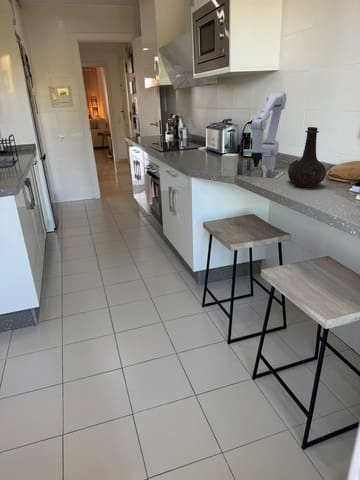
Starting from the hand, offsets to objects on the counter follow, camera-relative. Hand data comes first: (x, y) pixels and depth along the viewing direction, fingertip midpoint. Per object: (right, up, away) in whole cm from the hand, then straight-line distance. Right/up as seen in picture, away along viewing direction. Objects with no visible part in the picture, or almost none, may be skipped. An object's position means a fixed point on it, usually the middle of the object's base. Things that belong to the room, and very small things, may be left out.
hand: (256, 166), depth 193 cm
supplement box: (-15, -6, 0) cm, 16 cm away
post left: (-9, -6, 0) cm, 11 cm away
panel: (+5, -6, -1) cm, 8 cm away
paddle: (+5, -5, -1) cm, 7 cm away
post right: (-2, -1, +11) cm, 11 cm away
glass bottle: (+20, -14, -22) cm, 33 cm away
